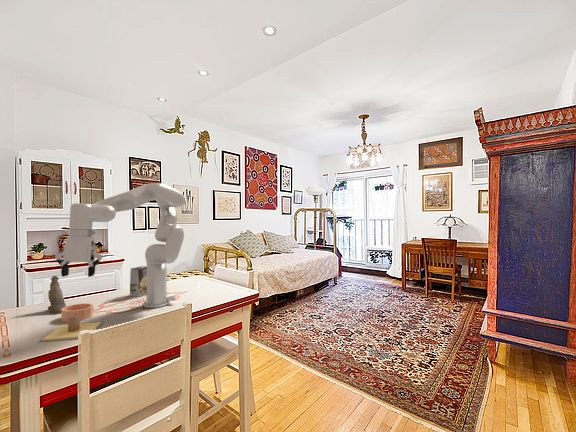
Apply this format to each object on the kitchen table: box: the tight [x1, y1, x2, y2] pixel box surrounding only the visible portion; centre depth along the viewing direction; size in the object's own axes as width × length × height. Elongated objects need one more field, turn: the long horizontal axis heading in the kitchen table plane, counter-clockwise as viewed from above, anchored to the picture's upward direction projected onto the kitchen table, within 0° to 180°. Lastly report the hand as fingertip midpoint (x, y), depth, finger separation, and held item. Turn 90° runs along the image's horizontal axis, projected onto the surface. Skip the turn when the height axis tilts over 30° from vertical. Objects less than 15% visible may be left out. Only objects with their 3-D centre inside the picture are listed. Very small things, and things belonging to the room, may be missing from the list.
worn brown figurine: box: [47, 275, 67, 315], centre depth 135 cm, size 12×6×18 cm, turn 54°
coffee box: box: [129, 265, 147, 298], centre depth 164 cm, size 9×6×16 cm
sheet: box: [42, 316, 102, 341], centre depth 109 cm, size 14×14×6 cm
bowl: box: [60, 302, 94, 323], centre depth 125 cm, size 11×11×5 cm
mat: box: [36, 322, 105, 344], centre depth 109 cm, size 16×16×1 cm
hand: (78, 276), depth 113 cm, fingers open, 9 cm apart
